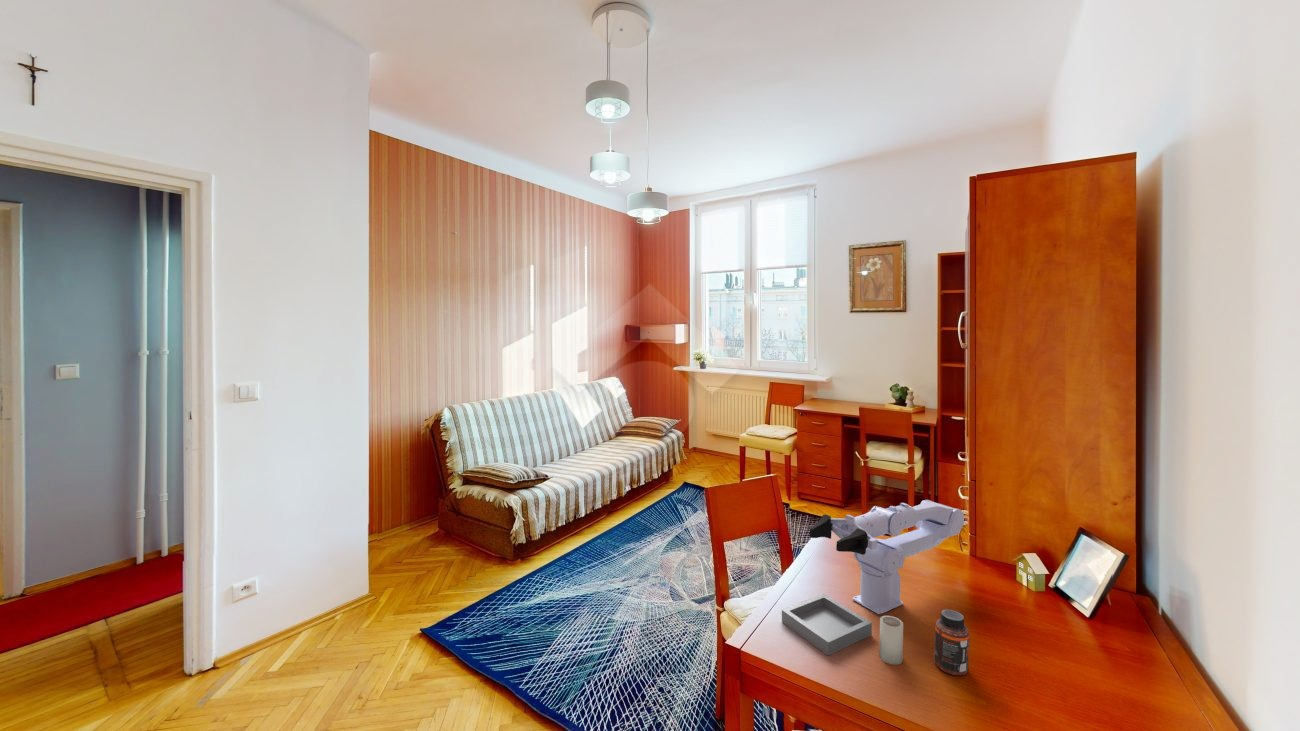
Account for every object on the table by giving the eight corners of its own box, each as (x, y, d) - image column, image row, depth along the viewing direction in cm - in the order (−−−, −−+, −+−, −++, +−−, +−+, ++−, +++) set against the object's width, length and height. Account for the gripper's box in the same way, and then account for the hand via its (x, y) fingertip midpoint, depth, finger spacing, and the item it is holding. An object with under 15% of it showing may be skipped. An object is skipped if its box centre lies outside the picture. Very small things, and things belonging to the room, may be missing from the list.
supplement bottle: (973, 679, 98) (975, 625, 97) (940, 675, 99) (942, 621, 98) (960, 659, 104) (962, 607, 103) (930, 655, 105) (931, 605, 104)
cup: (888, 648, 108) (888, 613, 107) (906, 660, 104) (907, 623, 103) (874, 655, 106) (875, 619, 105) (893, 667, 102) (894, 630, 101)
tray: (823, 605, 125) (823, 593, 125) (871, 635, 113) (871, 622, 112) (781, 621, 118) (781, 609, 118) (828, 655, 106) (828, 642, 106)
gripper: (838, 502, 126) (800, 511, 120) (890, 523, 114) (851, 535, 107) (837, 528, 127) (799, 539, 120) (888, 552, 115) (849, 566, 108)
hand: (823, 539), depth 114 cm, fingers open, 7 cm apart
